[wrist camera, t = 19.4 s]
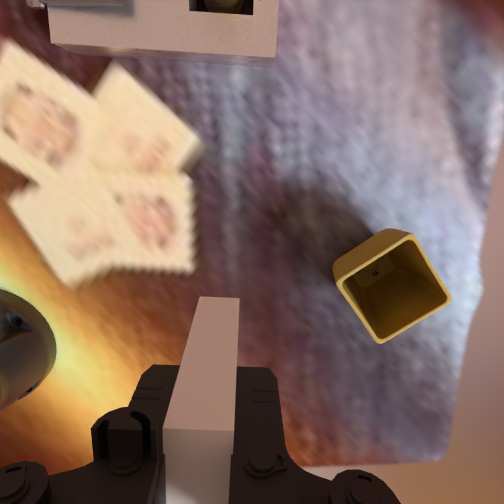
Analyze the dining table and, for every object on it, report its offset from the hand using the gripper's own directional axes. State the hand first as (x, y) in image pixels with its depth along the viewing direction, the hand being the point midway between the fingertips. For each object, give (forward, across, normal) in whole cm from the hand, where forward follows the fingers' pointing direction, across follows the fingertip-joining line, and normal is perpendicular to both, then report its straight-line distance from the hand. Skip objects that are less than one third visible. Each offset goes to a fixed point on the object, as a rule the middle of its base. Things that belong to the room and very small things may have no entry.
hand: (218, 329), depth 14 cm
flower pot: (+30, +16, -7) cm, 34 cm away
